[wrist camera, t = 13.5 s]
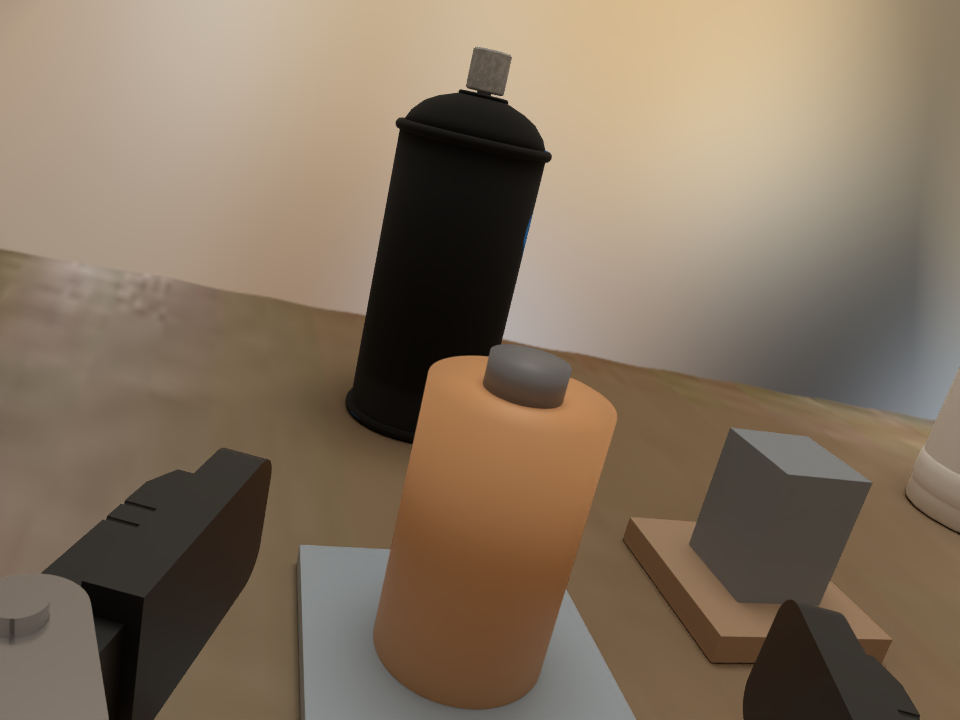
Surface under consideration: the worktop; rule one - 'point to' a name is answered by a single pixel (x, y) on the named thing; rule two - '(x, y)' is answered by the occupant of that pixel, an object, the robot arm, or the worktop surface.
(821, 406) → the worktop surface
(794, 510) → the grey holder stand
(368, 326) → the aerosol can
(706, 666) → the worktop surface
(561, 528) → the orange battery
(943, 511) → the bottle
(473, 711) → the pad
